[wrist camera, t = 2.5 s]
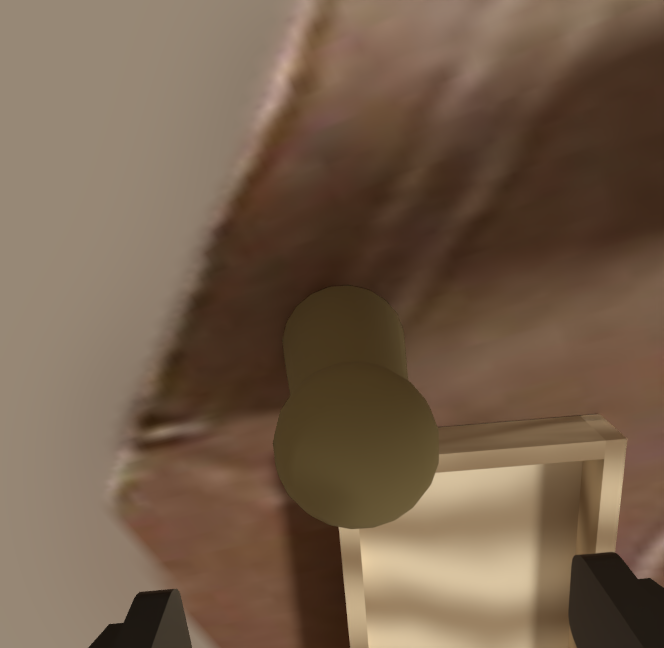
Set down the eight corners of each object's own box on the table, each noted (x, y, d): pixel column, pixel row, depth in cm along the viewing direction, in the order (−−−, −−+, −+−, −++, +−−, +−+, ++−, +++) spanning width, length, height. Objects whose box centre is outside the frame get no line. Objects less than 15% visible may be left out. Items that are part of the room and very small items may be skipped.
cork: (366, 261, 23) (402, 337, 13) (426, 363, 25) (501, 505, 14) (258, 325, 24) (209, 446, 14) (323, 420, 26) (324, 593, 15)
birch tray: (331, 436, 26) (332, 463, 24) (599, 413, 26) (627, 438, 24) (361, 753, 33) (364, 798, 31) (570, 736, 33) (590, 780, 31)
